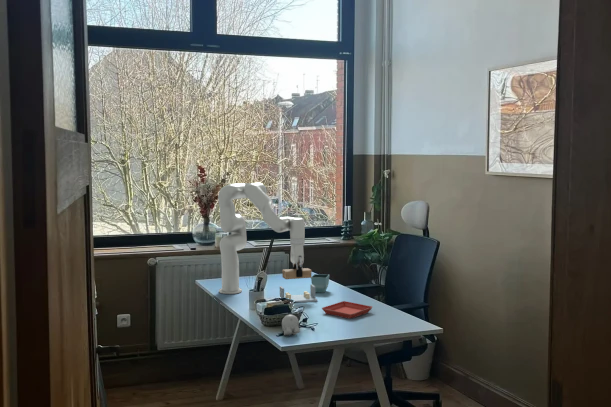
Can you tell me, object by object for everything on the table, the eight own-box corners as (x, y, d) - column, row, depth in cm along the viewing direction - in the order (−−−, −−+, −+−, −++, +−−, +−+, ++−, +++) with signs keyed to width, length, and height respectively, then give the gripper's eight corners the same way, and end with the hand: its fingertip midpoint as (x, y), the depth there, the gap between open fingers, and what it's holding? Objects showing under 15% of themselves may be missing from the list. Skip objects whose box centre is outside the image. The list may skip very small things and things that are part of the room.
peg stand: (278, 297, 340) (277, 284, 339) (310, 295, 345) (310, 283, 344) (283, 303, 327) (283, 290, 327) (317, 301, 332) (317, 288, 332)
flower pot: (310, 293, 352) (310, 276, 351) (314, 289, 360) (314, 273, 360) (326, 293, 350) (326, 277, 349) (329, 290, 358) (329, 274, 358)
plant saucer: (350, 320, 296) (350, 313, 296) (320, 314, 308) (320, 307, 308) (373, 313, 310) (373, 306, 309) (343, 307, 321) (343, 300, 321)
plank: (282, 277, 336) (282, 269, 335) (307, 275, 340) (307, 268, 340) (285, 279, 330) (285, 271, 330) (311, 277, 334) (311, 270, 334)
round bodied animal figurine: (293, 336, 279) (291, 316, 282) (302, 333, 268) (300, 312, 271) (278, 337, 277) (276, 318, 279) (285, 334, 266) (283, 313, 269)
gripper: (286, 239, 341) (286, 273, 342) (294, 244, 324) (294, 279, 326) (300, 239, 343) (300, 272, 344) (308, 243, 326) (309, 278, 328)
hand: (297, 275), depth 335 cm, fingers closed on plank, 6 cm apart
